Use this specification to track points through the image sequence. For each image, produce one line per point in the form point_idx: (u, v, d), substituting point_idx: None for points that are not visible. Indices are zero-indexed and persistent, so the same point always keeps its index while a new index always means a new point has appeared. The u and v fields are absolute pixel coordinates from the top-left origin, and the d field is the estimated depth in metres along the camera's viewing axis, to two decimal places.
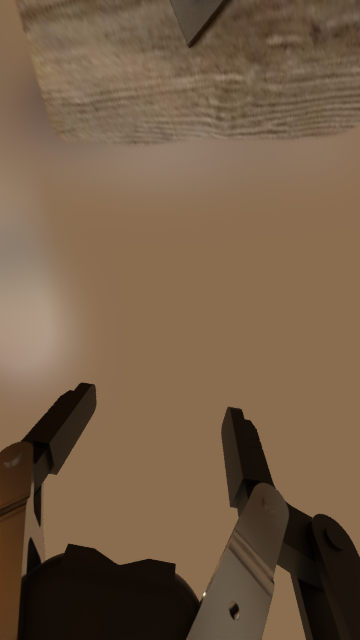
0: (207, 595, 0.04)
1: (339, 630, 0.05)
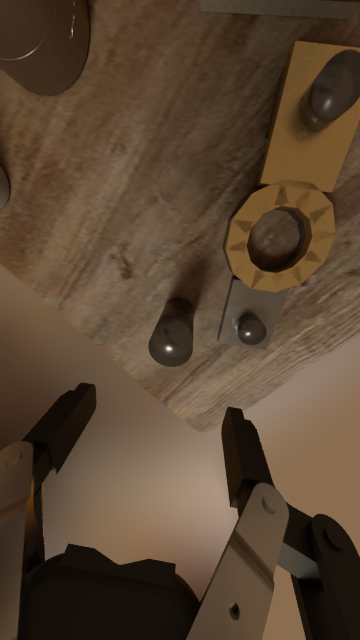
0: (207, 595, 0.04)
1: (339, 630, 0.05)
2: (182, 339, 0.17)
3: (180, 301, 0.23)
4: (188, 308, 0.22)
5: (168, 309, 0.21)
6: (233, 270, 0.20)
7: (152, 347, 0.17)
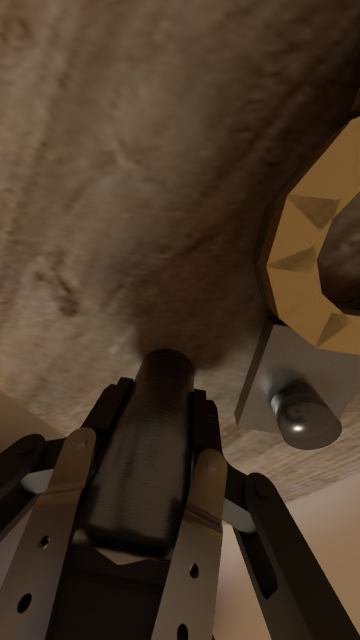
0: (169, 573, 0.05)
1: (274, 568, 0.06)
2: (157, 545, 0.05)
3: (167, 362, 0.12)
4: (183, 379, 0.11)
5: (140, 390, 0.10)
6: (280, 311, 0.09)
7: None
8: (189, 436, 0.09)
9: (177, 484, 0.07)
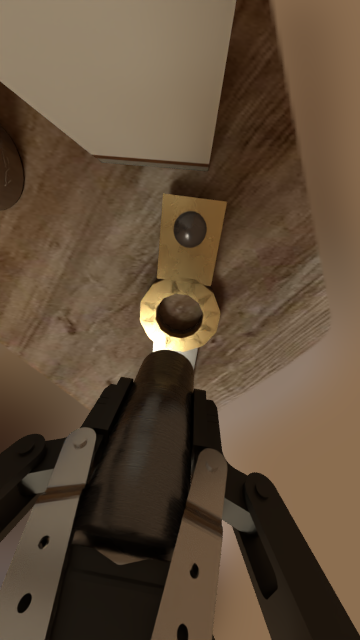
0: (169, 573, 0.05)
1: (274, 568, 0.06)
2: (157, 546, 0.06)
3: (167, 362, 0.12)
4: (183, 379, 0.11)
5: (140, 390, 0.10)
6: (148, 335, 0.25)
7: None
8: (189, 437, 0.09)
9: (177, 485, 0.07)
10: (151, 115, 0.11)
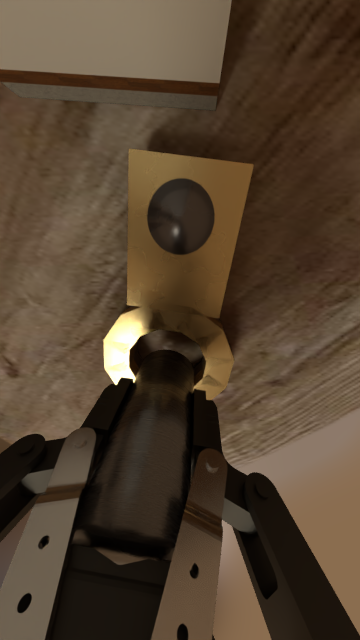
0: (169, 573, 0.05)
1: (274, 568, 0.06)
2: (157, 545, 0.06)
3: (167, 362, 0.12)
4: (183, 379, 0.11)
5: (140, 390, 0.10)
6: None
7: None
8: (189, 437, 0.09)
9: (177, 485, 0.07)
10: None
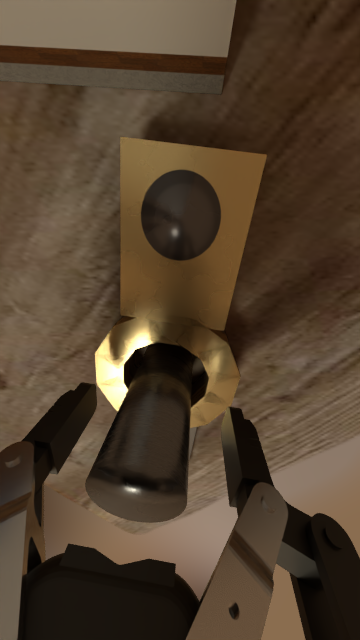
0: (207, 595, 0.04)
1: (338, 629, 0.05)
2: (162, 484, 0.07)
3: (168, 349, 0.13)
4: (182, 364, 0.13)
5: (145, 372, 0.11)
6: (114, 406, 0.15)
7: (95, 491, 0.07)
8: (188, 410, 0.10)
9: (178, 442, 0.08)
10: None
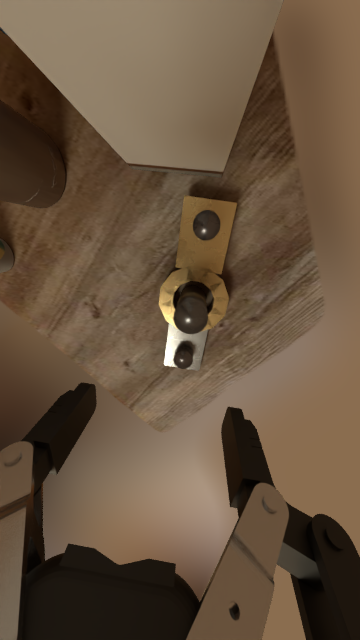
0: (207, 595, 0.04)
1: (339, 630, 0.05)
2: (200, 311, 0.21)
3: (194, 287, 0.28)
4: (202, 292, 0.27)
5: (186, 292, 0.26)
6: (165, 318, 0.29)
7: (176, 317, 0.22)
8: None
9: (204, 304, 0.22)
10: (185, 137, 0.15)
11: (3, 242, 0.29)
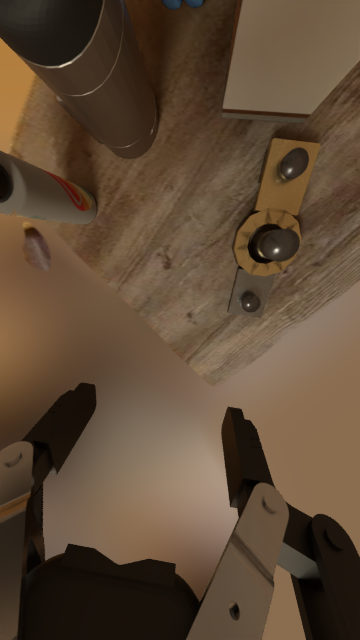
0: (207, 595, 0.04)
1: (339, 630, 0.05)
2: (293, 237, 0.24)
3: None
4: None
5: (266, 231, 0.29)
6: (238, 262, 0.32)
7: (270, 245, 0.25)
8: None
9: None
10: (310, 65, 0.18)
11: (90, 194, 0.32)
